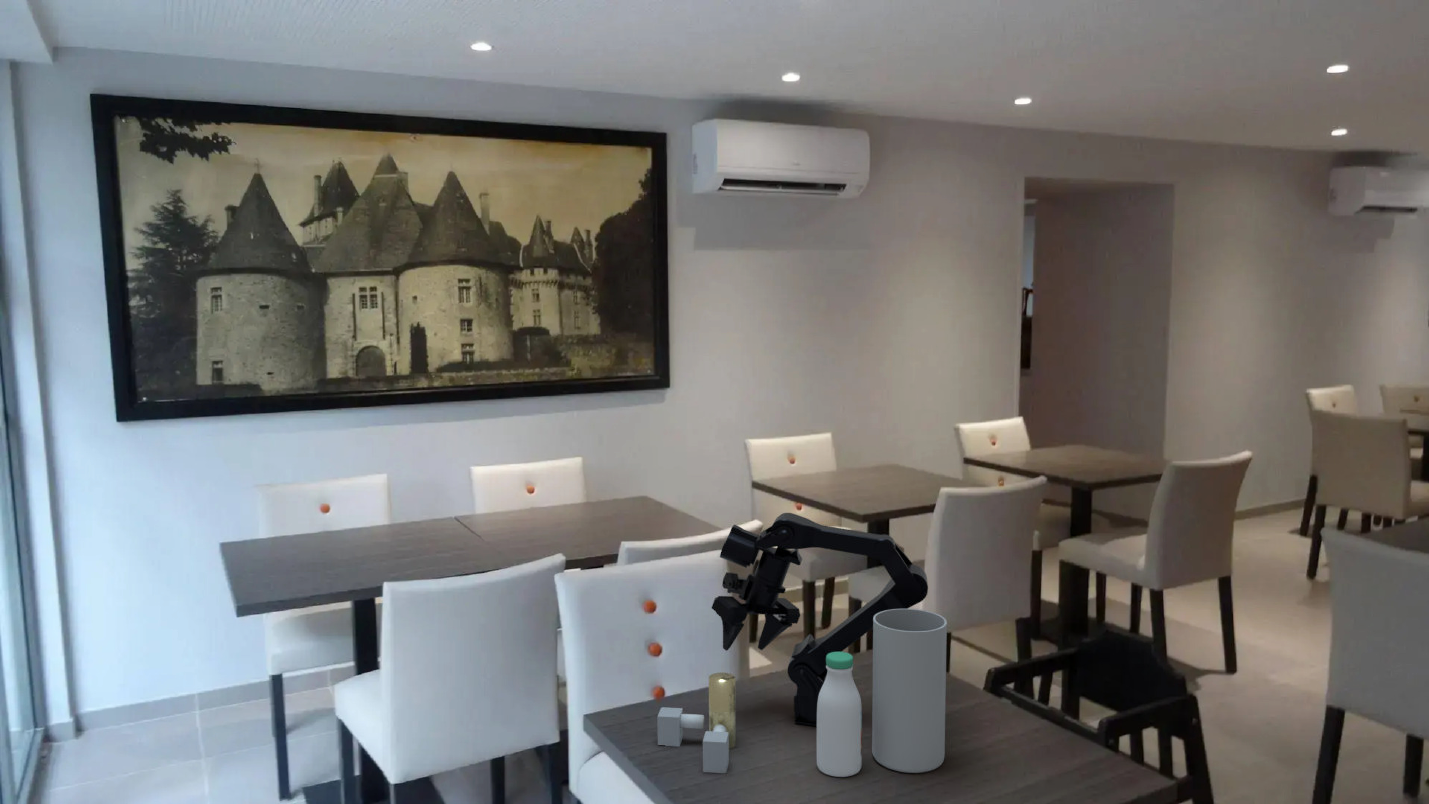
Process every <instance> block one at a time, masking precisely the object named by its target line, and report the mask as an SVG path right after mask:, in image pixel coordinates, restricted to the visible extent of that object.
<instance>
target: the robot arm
mask: <svg viewBox="0 0 1429 804" xmlns="http://www.w3.org/2000/svg"><path fill="white" fill-rule="evenodd" d="M811 548H812V549H813V548H821V549H824V550H831V551H835V552H836V551H837V552H843V553H847V554H853V555H860V556H866V557H871V558H877V559H878V560H879V561H880V562H881V564H882V566H883V567H884V569H885V571H886V572H887V573H888V575H889V576H890V579H889V581H888V582H887V583H886V585H885V587H884V588H883V589H882V590H881V592H880V593H879V594H878V595H876V596H875V597H874V598H873V599H871V600H870V601H868V602H867V603H866V604H864V605H863V606H862V607H861V608H859V609H858V610H857V611H855V612H854V613H853V614H851V615H850V616H849V617H848V618H846V619H845V620H843V622H842V621H841V623H840V624H838V625H837V626H836V627H835V628H833V629H832V630H831V631H829V632H828V633H826V634H825V635H823V636H821V637H818V638H814V636H813V635H812V634H811V633H809V635H807V636H806V638H804V640H802V641H800V643H796V644H795V645H794V648H793V651H792V653H791V655H790V659H789V662H788V666H787V671H786V672H787V675H788V677H789V680H790V681H791V682H792V683H794V684H795V685H796V693H794V696H793V716H794V717H795V719H794V724H796V725H797V724H798V725H806V726H813V727H817V702H818V696H819V693H820V690H821V688H822V686H823V684H824V681H825V679H826V676H827V668H826V665H827V664H826V656H827V654H829V653H831V652H844V651H845V650H846V649H848V647H850V646H851V645H853V644H854V643H855V642H856V641H857V640H859V639H861V637H863V636H865V634H867V633H868V632H870V631H871V630H873V617H874V615H876V614H877V613H879V612H882V611H885V610H891V609H911V607H913V606H915V605H917V604H919V603H921V602H923V601H924V599H925V598H927V596H928V593H929V584H928V577H927V573H926V572H925V570H924V569H923V568H921V566H918V565H916V564H913V562H912V561H911V559H910V558H909V557H908V556H907V554H905V552H904V551H903V550H902V549H901V548H900V547H899V546H898V545H897V543H896V542H895V540H894V538H893V537H892V536H891V535H888V534H876V533H871V532H865V531H859V530H852V529H847V528H841V527H836V526H830V525H829V526H828V525H823V524H820V523H817V522H815V521H813V520H811V519H809V518H807V517H804V516H801V515H799V514H795V513H793V512H783V513H781V514H780V515H778V516H776V518H775V520H774V521H773V523H772V524H771V526H769V527H767V528H766V529H763V530H762V531H761V532H760V534H756V533H755V532H751V531H749V530H747V529H744V528H742V527H741V526H739V525H736V524H733V525H732V527H731V528H730V531H729V533H728V536H727V538H726V540H725V541H724V542H723V545H722V548H721V551H720V553H719V558H721V559H723V560H725V561H728V562H730V563H733V564H736V565H738V566H741V567H744V568H746V569H747V568H748V567H750V566H751V565H753V566H754V565H755V564H756V562H757V560H758V556H759V554H760V551H761V556H760V558H759V561H758V563H757V567H756V570H755V572H754V573H749V574H748V575H747V577H744V576H743V577H742V576H739V575H738V573H734V572H730V571H729V572H725V574H724V577H723V580H722V586H721V587H723V589H725V590H727V591H726V593H727V594H735V595H736V594H737V595H738V598H739V599H740V600H741V601H744V603H741V602H740V601H739V600H737V598H735V597H734V596H728V595H726V596H725V595H719V596H717V597H715V598H714V600H713V602H712V605H711V609H712V610H713V611H714V612H715V614H716V615H718V616H719V617H720V619H721V622H722V648H723V649H724V651H728V650H729V649H730V648H731V647H732V645H733V644H734V642H736V641H735V640H736V638H738V635H739V634H740V632H741V631H742V629H743V628H744V626H745V624H744V623H743V622H744V621H745V620H747V617H748V615H764V619H765V620H764V621H765V622H764V625H763V628H762V630H761V634H760V637H759V640H758V645H757V649H759V650H760V651H763V650H764V649H766V647H768V645H770V644H771V643H772V642H773V641H774V640H775V639H776V638H777V637H778V636H780V635H781V634H782V633H783V632H785V631H786V630H787V629H788V628H791V627H792V626H793V624H796V625H797V624H798V622H799V620H800V617H801V612H800V608H798V607H797V606H796V605H795V604H794V603H792V602H791V601H789V600H788V599H787V598H786V597H785V598H784V597H779V595H780V594H785V592H786V590H787V588H786V587H784V586H783V584H784V582H785V579H786V577H787V574H788V572H789V569H790V565H791V564H794V565H797V566H800V565H801V563H802V561H803V557H802V556H801V554H800V552H799V550H803V549H811Z"/></svg>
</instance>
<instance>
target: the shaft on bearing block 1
mask: <svg viewBox="0 0 1429 804" xmlns="http://www.w3.org/2000/svg"><path fill="white" fill-rule="evenodd" d="M683 710H684V709H683V708H682V707H681V708H680V707H661V708H660V710H659V712H658V715H657V717H656V718H657V721H656V722H657V746H658V745H665V746H664V747H678V748H680V746H681V744H682V740H683V738H684V728H685V729H701V730H702V729H704V725H705V715H704V714H694V713H693V714H692V713H684V711H683Z"/></svg>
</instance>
